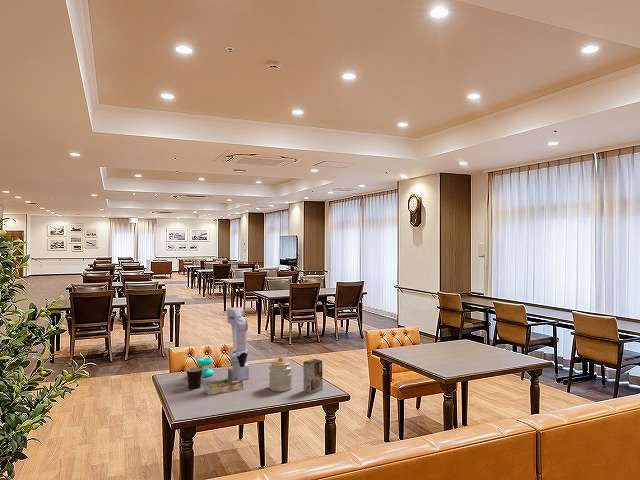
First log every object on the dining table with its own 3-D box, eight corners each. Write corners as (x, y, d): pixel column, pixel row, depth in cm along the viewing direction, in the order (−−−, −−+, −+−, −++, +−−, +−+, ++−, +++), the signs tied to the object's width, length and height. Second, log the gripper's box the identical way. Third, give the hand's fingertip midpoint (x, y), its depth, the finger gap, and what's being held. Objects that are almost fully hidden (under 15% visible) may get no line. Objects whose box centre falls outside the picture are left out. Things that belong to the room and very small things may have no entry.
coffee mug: (198, 390, 253) (198, 372, 253) (183, 389, 254) (183, 371, 254) (207, 383, 264) (207, 366, 264) (193, 382, 266) (193, 365, 266)
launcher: (236, 384, 262) (236, 377, 262) (243, 389, 255) (243, 381, 255) (215, 388, 255) (215, 381, 255) (221, 393, 247) (221, 385, 248)
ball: (214, 391, 252) (218, 385, 253) (216, 393, 249) (220, 387, 250) (209, 388, 250) (213, 382, 251) (211, 389, 247) (216, 384, 249)
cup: (216, 389, 254) (216, 383, 254) (221, 392, 248) (221, 387, 248) (204, 391, 250) (204, 386, 250) (209, 395, 245) (209, 389, 245)
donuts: (193, 359, 279) (205, 356, 288) (193, 376, 279) (205, 372, 288) (204, 362, 274) (216, 358, 283) (204, 378, 274) (216, 374, 283)
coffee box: (314, 387, 258) (314, 358, 258) (322, 389, 254) (322, 360, 254) (302, 390, 252) (302, 361, 252) (311, 393, 247) (310, 363, 247)
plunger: (230, 381, 258) (230, 368, 258) (233, 383, 253) (233, 370, 253) (225, 382, 256) (225, 369, 256) (228, 384, 252) (228, 371, 252)
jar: (276, 383, 265) (276, 352, 265) (296, 386, 259) (296, 355, 259) (264, 390, 253) (264, 358, 253) (284, 393, 247) (284, 360, 247)
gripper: (239, 340, 271) (240, 364, 269) (230, 344, 256) (230, 369, 255) (251, 340, 269) (251, 364, 268) (242, 344, 255) (242, 369, 254)
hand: (242, 366), depth 262 cm, fingers closed
